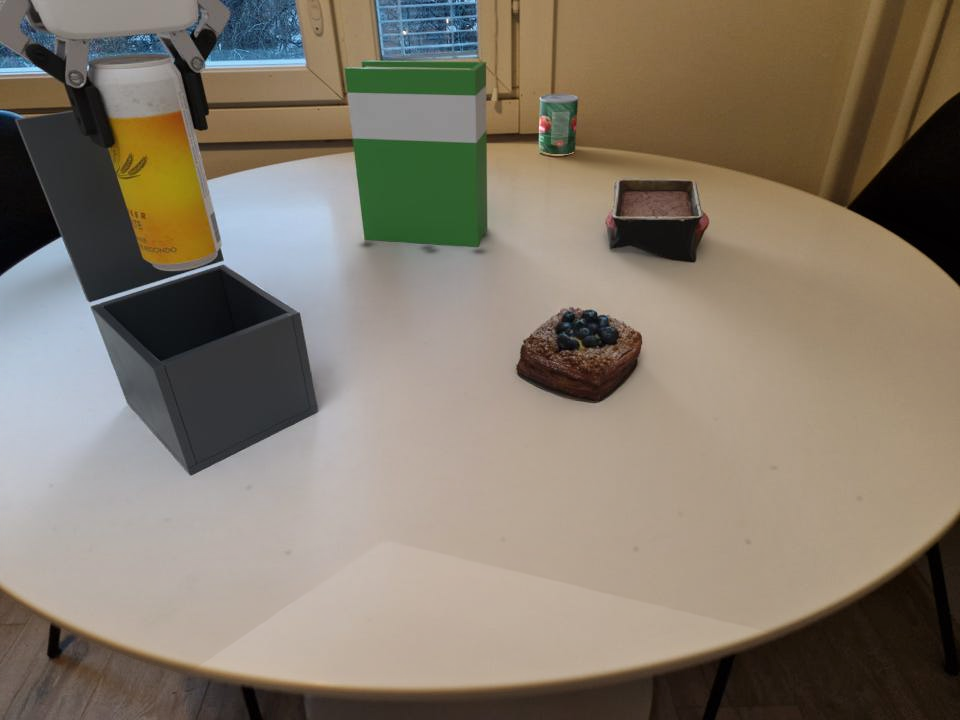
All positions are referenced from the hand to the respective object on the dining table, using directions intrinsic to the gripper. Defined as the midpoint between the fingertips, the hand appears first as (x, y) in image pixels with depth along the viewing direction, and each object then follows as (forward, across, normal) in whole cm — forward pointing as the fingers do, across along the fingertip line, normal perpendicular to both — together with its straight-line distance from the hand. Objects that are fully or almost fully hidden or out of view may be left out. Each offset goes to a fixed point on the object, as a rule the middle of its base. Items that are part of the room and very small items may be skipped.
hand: (150, 133), depth 48 cm
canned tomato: (+26, -93, -38) cm, 104 cm away
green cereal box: (+26, -43, -22) cm, 55 cm away
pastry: (+26, -30, +18) cm, 44 cm away
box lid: (+7, 0, -9) cm, 11 cm away
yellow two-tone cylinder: (+10, 0, 0) cm, 10 cm away
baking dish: (+26, -64, +6) cm, 69 cm away
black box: (+26, 0, -2) cm, 26 cm away
